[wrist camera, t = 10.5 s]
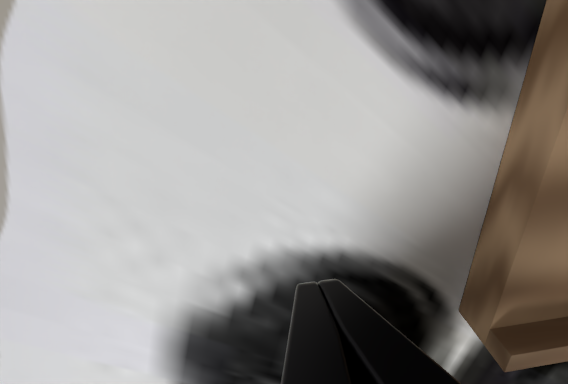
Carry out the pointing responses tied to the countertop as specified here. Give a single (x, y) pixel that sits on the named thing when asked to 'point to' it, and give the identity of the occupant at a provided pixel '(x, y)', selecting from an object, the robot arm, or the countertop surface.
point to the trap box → (528, 219)
